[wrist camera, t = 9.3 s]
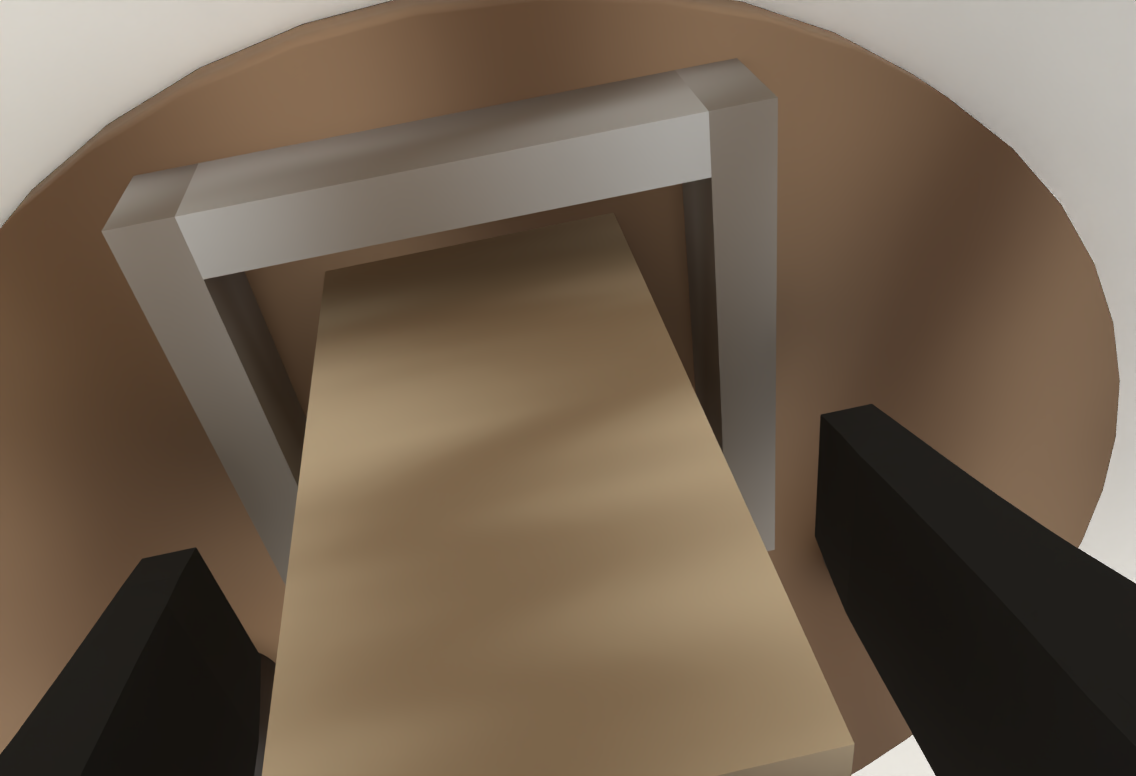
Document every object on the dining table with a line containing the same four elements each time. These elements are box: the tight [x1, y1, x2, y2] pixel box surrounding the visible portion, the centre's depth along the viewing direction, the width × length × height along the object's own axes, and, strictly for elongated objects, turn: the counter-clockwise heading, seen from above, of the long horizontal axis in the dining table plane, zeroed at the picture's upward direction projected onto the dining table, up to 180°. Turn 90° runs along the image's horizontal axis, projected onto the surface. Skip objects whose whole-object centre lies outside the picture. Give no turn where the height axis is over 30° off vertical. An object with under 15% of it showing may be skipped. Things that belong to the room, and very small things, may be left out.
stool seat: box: [0, 0, 1120, 776], centre depth 16 cm, size 22×22×4 cm
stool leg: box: [262, 213, 855, 776], centre depth 10 cm, size 4×4×8 cm
